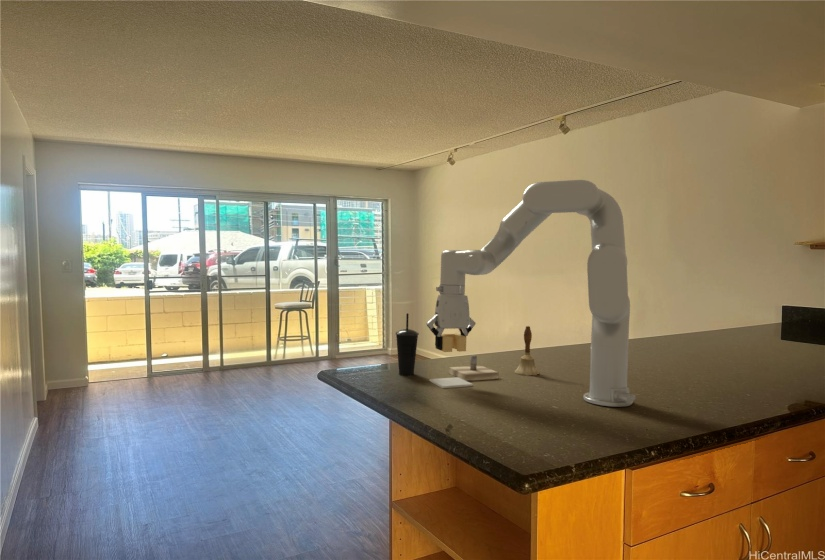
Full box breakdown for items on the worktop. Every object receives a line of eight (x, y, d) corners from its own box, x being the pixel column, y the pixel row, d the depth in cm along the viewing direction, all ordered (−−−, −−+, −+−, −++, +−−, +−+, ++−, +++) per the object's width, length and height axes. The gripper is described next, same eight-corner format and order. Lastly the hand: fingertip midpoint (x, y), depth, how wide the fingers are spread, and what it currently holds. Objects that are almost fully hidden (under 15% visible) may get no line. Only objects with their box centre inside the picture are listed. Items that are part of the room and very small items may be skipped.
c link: (465, 351, 163) (466, 336, 163) (444, 352, 160) (445, 337, 160) (455, 347, 169) (456, 333, 169) (435, 348, 167) (435, 334, 167)
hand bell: (541, 375, 179) (543, 328, 178) (516, 375, 179) (517, 327, 179) (536, 370, 187) (537, 325, 187) (512, 370, 187) (513, 324, 187)
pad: (472, 386, 162) (472, 384, 162) (442, 388, 158) (442, 386, 158) (458, 379, 171) (458, 377, 171) (429, 381, 168) (429, 379, 168)
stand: (498, 378, 173) (499, 358, 173) (465, 380, 169) (465, 359, 169) (480, 371, 185) (480, 352, 184) (448, 373, 180) (449, 353, 180)
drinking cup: (418, 372, 181) (420, 312, 181) (416, 376, 174) (418, 314, 173) (396, 371, 182) (397, 312, 181) (393, 375, 174) (394, 314, 174)
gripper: (431, 291, 157) (429, 352, 158) (483, 291, 164) (481, 350, 164) (421, 289, 164) (419, 347, 165) (472, 290, 171) (470, 346, 171)
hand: (450, 348), depth 165 cm, fingers closed on c link, 7 cm apart
